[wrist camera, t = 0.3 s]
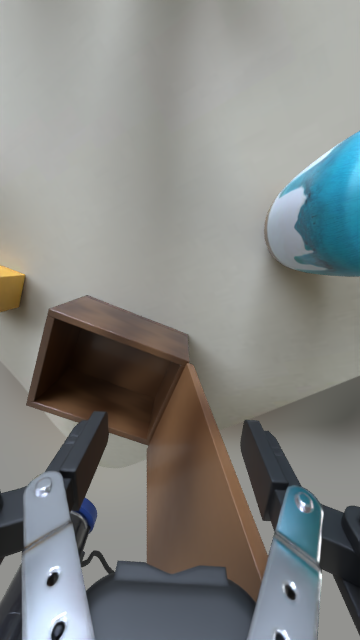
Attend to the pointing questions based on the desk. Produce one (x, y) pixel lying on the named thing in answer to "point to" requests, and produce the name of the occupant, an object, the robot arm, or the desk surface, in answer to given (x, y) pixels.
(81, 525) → the robot arm
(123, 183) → the desk surface
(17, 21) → the desk surface
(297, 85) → the desk surface
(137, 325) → the chest
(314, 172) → the vase
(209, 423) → the lid
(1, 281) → the block
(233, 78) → the desk surface
